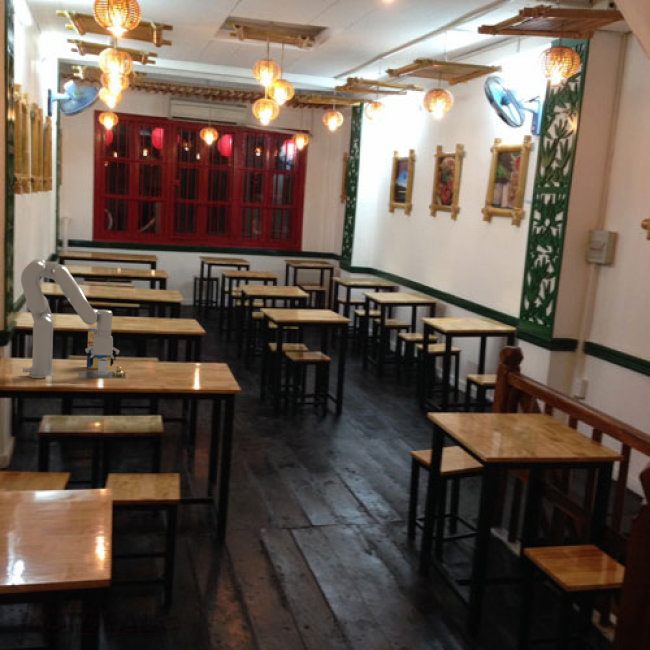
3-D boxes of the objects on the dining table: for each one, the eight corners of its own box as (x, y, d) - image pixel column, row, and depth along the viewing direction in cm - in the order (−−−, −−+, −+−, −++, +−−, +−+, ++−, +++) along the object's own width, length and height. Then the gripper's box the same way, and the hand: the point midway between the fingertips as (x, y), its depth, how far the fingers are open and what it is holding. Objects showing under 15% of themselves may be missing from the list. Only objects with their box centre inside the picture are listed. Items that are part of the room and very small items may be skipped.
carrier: (78, 380, 397) (78, 369, 396) (78, 373, 412) (78, 363, 411) (126, 380, 404) (126, 370, 404) (124, 374, 419) (125, 364, 419)
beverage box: (107, 370, 425) (109, 331, 423) (86, 370, 423) (88, 330, 420) (107, 368, 432) (109, 329, 429) (87, 367, 429) (88, 328, 426)
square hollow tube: (94, 376, 403) (94, 361, 402) (93, 373, 410) (94, 358, 409) (110, 376, 405) (110, 361, 404) (109, 373, 413) (110, 358, 412)
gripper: (86, 333, 399) (84, 366, 401) (121, 335, 404) (118, 367, 406) (86, 331, 406) (84, 363, 408) (120, 333, 411) (118, 364, 413)
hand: (101, 365), depth 407 cm, fingers open, 9 cm apart
